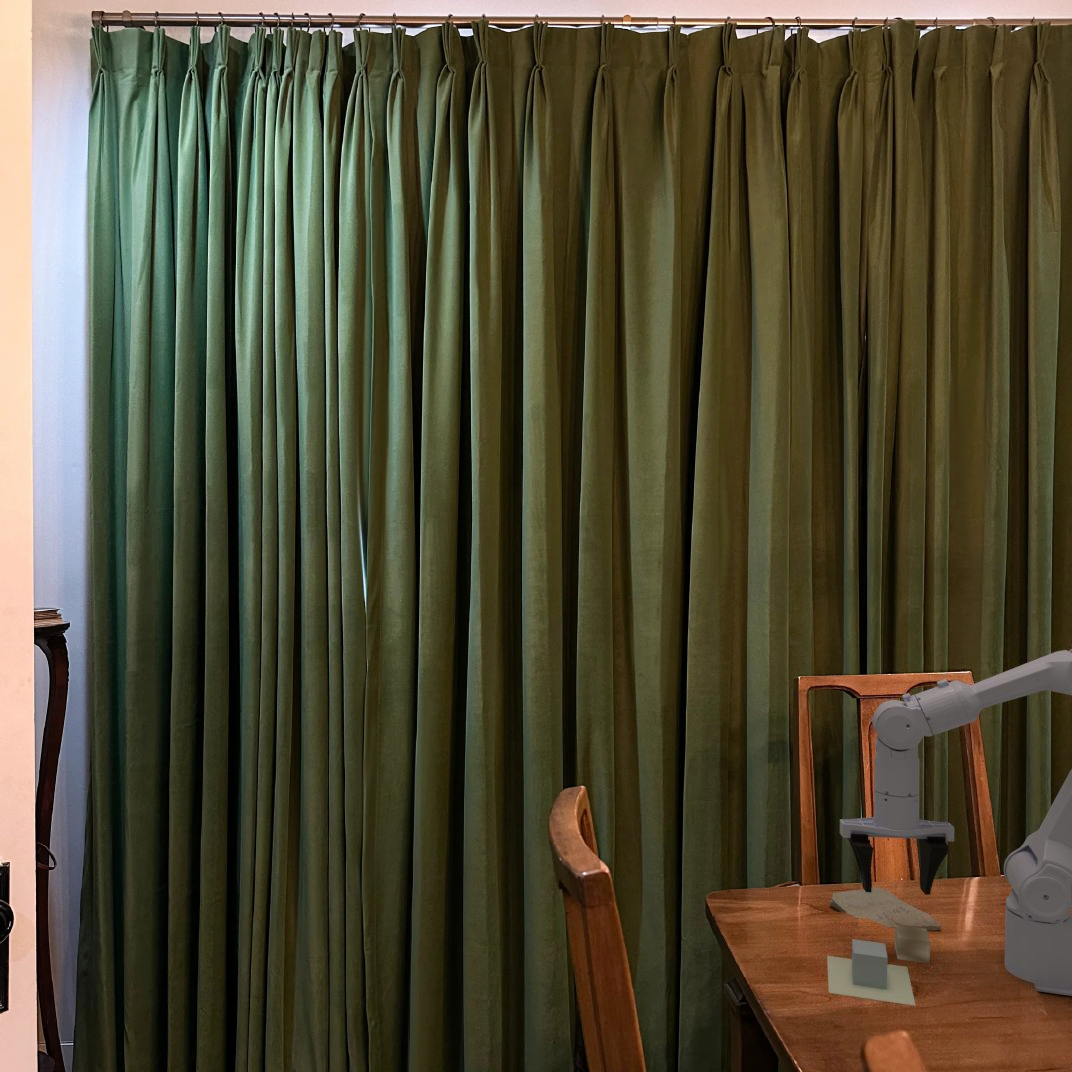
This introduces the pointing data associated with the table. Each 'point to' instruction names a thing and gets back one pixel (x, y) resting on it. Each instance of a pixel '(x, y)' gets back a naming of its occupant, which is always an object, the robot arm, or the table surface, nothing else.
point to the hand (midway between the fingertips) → (895, 890)
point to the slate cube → (869, 964)
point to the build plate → (843, 985)
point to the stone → (882, 909)
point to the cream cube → (912, 944)
